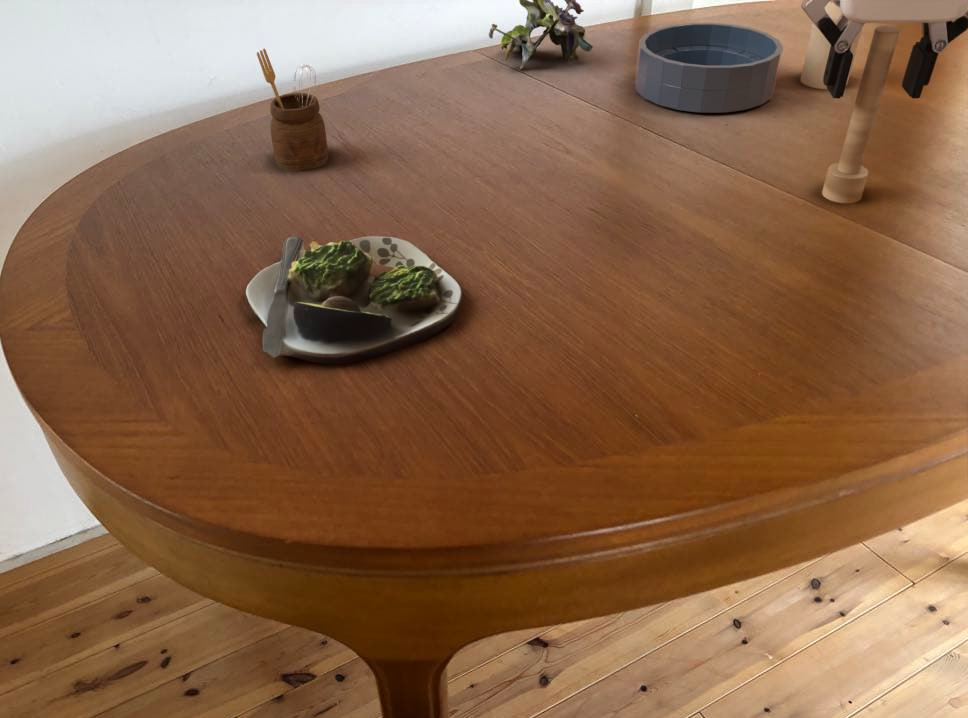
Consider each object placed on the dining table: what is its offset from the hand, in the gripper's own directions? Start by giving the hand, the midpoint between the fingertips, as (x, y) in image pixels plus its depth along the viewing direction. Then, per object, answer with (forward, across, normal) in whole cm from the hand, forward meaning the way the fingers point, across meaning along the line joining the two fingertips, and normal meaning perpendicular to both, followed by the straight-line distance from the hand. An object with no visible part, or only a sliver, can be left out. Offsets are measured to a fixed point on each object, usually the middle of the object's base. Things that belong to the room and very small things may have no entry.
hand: (872, 91), depth 80 cm
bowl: (+11, -10, +28) cm, 32 cm away
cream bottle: (+11, +5, +31) cm, 33 cm away
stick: (+11, 0, 0) cm, 11 cm away
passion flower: (+11, -30, +38) cm, 50 cm away
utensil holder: (+11, -56, +7) cm, 57 cm away
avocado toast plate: (+11, -45, -22) cm, 51 cm away
